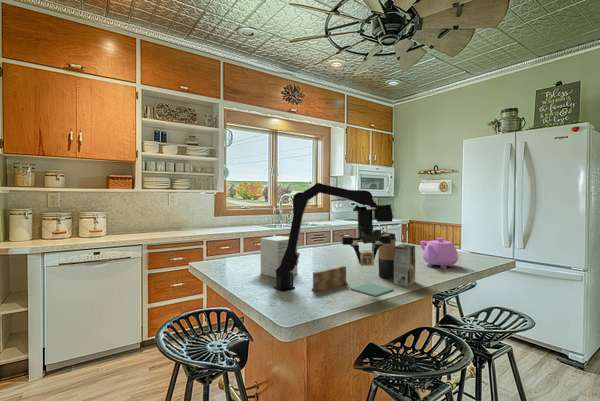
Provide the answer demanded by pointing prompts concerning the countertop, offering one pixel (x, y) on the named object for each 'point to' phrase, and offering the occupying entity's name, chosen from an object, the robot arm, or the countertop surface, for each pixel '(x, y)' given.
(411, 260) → the coffee box
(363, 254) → the letter block
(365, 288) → the mat
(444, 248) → the teapot
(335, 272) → the screen
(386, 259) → the travel mug
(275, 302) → the countertop surface
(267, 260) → the supplement box
